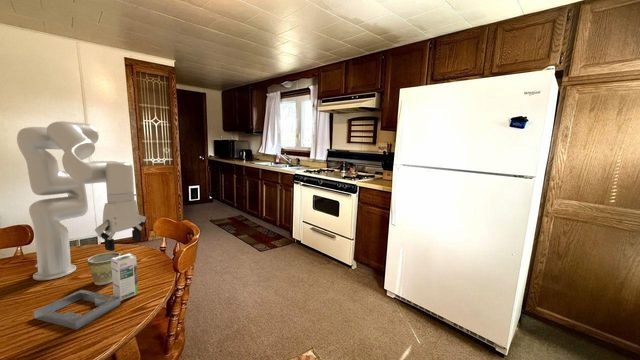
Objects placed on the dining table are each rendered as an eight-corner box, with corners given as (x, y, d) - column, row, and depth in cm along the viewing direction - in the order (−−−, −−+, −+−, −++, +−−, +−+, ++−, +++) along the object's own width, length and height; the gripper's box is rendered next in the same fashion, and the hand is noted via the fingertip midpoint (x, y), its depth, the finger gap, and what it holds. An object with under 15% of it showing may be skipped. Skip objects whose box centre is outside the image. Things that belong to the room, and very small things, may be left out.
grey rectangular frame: (34, 318, 80) (33, 310, 80) (81, 296, 92) (81, 289, 92) (76, 329, 76) (76, 321, 75) (120, 304, 88) (120, 297, 88)
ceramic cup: (103, 289, 97) (101, 263, 96) (82, 285, 99) (80, 260, 98) (134, 273, 110) (133, 250, 109) (114, 270, 112) (113, 248, 111)
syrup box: (120, 301, 90) (118, 261, 88) (112, 296, 93) (110, 257, 92) (138, 294, 95) (136, 256, 93) (131, 289, 98) (129, 252, 96)
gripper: (135, 193, 99) (138, 236, 101) (85, 201, 83) (89, 253, 84) (151, 194, 97) (153, 238, 99) (103, 203, 81) (107, 255, 83)
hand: (124, 245), depth 92 cm, fingers open, 9 cm apart
